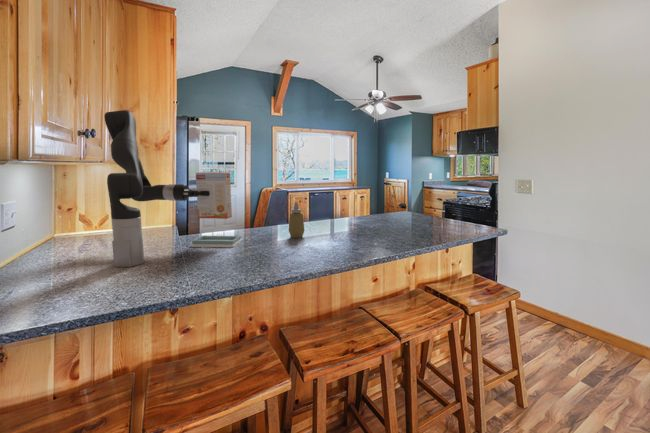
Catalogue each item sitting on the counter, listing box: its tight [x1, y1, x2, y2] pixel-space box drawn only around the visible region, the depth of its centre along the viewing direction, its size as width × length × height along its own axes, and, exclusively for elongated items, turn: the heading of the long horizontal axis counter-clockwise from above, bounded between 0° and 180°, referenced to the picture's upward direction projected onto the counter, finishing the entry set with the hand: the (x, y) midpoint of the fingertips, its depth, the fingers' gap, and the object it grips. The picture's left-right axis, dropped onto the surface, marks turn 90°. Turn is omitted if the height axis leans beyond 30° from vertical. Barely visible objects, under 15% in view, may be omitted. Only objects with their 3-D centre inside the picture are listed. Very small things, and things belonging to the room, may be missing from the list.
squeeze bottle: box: [288, 201, 305, 239], centre depth 170 cm, size 8×8×18 cm
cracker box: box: [195, 171, 233, 220], centre depth 154 cm, size 14×6×21 cm, turn 85°
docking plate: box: [189, 235, 244, 248], centre depth 157 cm, size 14×20×2 cm
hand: (211, 192), depth 154 cm, fingers closed on cracker box, 6 cm apart
